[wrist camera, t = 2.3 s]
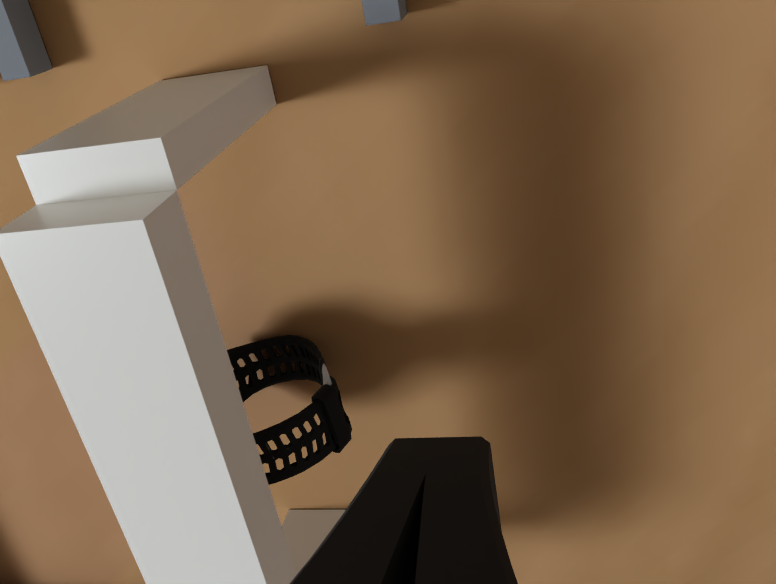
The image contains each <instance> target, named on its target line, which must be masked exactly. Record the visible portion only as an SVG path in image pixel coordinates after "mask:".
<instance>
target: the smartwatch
mask: <svg viewBox="0 0 776 584" xmlns="http://www.w3.org/2000/svg"><path fill="white" fill-rule="evenodd" d="M283 345H286V346H288V348H289V350H290V352H291V354H288V353H287V351H286V349H285V347H284V346H283ZM294 345H295V346H296V348H295V346H294ZM273 346H276V347H277V348H278V350H279V352H280V353H281V356H277V355H276V353H275V351H274V349H273V348H272V347H273ZM264 349H265V350H266V351H267V353H268V355H269V357H270V358H269V359H265V358H264V356H263V354H262V353H261V351H262V350H264ZM296 349H297V350H296ZM297 351H298V352H297ZM227 353H228V356H229V359H230V362H231V365H232V367H233V368H234V370H233V372H234V375H235V378H236V381H237V380H238V383H239V391H240V394H241V398H242V401H243V402H244V401H245V400H246V399H248V398H249V397H250V396H251V395H252V394H254V393H256V392H258V391H260V390H262V389H264V388H266V387H268V386H271V385H274V384H276V383H281V382H286V381H291V380H305V379H307V380H311V381H315V382H318V383H319V384H321V385H322V387H321V388H320V389H319V390H318V391H317V392H316V393H315V394H314V395H313V396H312V397H311V398H312V402H313V403H311V404H310V405H309V406H307V407H306V408H305V409H303V410H302V411H301V412H299V413H298V414H296V415H294V416H292V417H290V418H288V419H286V420H285V421H283V422H281V423H279V424H276V425H274V426H272V427H269V428H267V429H264V430H262V431H259V432H257V433H253V436H254V439H255V443H256V444H258V445H259V447H260V448H261V450H262V451H263V453H264V454H262V455H259V456H260V459H261V462H262V464H264V463H268V464H269V468H270V472H269V473H265V475H266V478H267V481H268V484H269V485H270V484H273V483H277V482H279V481H282V480H285V479H287V478H290V477H293V476H295V475H297V474H299V473H301V472H303V471H305V470H307V469H308V468H310V467H312V466H313V465H315V464H317V463H318V462H320V461H321V460H323V459H324V458H325V457H326V456H327V455H328V454H330V453H331V452H332V451H333V452H335V453H340V452H341V451H342V449H343V448H344V447H345V446H346V445H347V443H348V442H349V441H350V440H351V431H352V428H351V424H350V421H349V418H348V416H347V415H346V413H345V411H344V408H343V405H342V401H341V396H340V391H339V389H338V386H337V383H336V381H335V379H334V378H333V377H331V376H329V373H328V370H327V368H326V365H325V362H324V359H323V357H322V355H321V353H320V351H319V349H318V348H317V346H316V345H315V344H314V343H313V342H311V341H309V340H308V339H306V338H304V337H300V336H294V335H286V336H278V337H273V338H269V339H264V340H260V341H257V342H253V343H250V344H246V345H243V346H239V347H236V348H232V349H229V350H227ZM250 353H254V354H255V356H256V357H257V359H258V361H256V362H252V360H251V359H250V357H249V354H250ZM240 358H241V359H243V360H244V362H245V364H246V365H245V366H244V367H240V366H239V364H238V363H237V360H239V359H240ZM292 361H293V362H294V363H295V367H296V371H293V370H292V366H291V362H292ZM280 363H284V364H285V367H286V373H282V372H281V367H280ZM301 363H303V367H304V370H303V369H302V366H301ZM271 365H273V367H274V370H275V375H274V376H270V374H269V370H268V367H269V366H271ZM259 369H261V370H262V372H263V377H264V378H263V379H261V380H260V379H258V377H257V373H256V372H257V371H258V370H259ZM248 375H249V382H248V384H246V380H245V377H246V376H248ZM316 413H317V415H318V417H319V419H320V425H317V423H316V421H315V419H314V418H313V417H314V416H315V414H316ZM305 421H308V422H309V424H310V426H311V427H312V429H311V431H310V432H308V433H307V431H306V429H305V428H304V426H303V424H304V422H305ZM295 427H298V428H299V430H300V432H301V433H302V436H301V437H300V438H298V439H296V438H295V436H294V434H293V433H292V429H294V428H295ZM323 433H325V438H326V444H325V445H324V443H323V438H322V435H323ZM281 434H286V436H287V437H288V439H289V440H290V443H289V444H288V445H284V444H283V443H282V441H281V439H280V437H279V436H280V435H281ZM315 439H316V444H317V451H316V452H315V453H314V452H313V444H312V441H313V440H315ZM270 440H273V441H274V443H275V444H276V446H277V449H276V450H271V448H270V446H269V445H268V443H267V442H268V441H270ZM304 446H306V448H307V453H308V455H307V457H306V458H303V457H302V452H301V449H302V447H304ZM293 452H294V453H295V457H296V462H294V463H292V464H290V462H289V457H288V456H289V455H290V454H292V453H293ZM278 458H281V459H283V464H284V468H283V469H281V470H278V469H277V467H276V463H275V460H277V459H278Z"/></svg>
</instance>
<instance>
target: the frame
mask: <svg viewBox="0 0 776 584" xmlns="http://www.w3.org/2000/svg"><path fill="white" fill-rule="evenodd" d="M362 4H363V10H364V16H365V22H366V26H368V25H374V24H381V23H387V22H394V21H400V20H402V19H403V18H404V16H405V15H406V14H407V10H406V3H405V0H362ZM50 69H52V65H51V63H50V60H49V57H48V54H47V52H46V49H45V46H44V43H43V41H42V38H41V35H40V32H39V30H38V27H37V24H36V21H35V19H34V16H33V13H32V10H31V8H30V5H29V2H28V0H0V73H1V76H2V79H3V81H6V80H13V79H20V78H26V77H31V76H34V75H37V74H39V73H42V72H45V71H47V70H50Z"/></svg>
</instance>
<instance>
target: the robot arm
mask: <svg viewBox="0 0 776 584" xmlns="http://www.w3.org/2000/svg"><path fill="white" fill-rule="evenodd" d="M290 584H518V583H517V580H516V577H515V574H514V571H513V568H512V565H511V562H510V559H509V555H508V552H507V549H506V545H505V542H504V539H503V535H502V532H501V524H500V516H499V508H498V500H497V493H496V485H495V477H494V469H493V462H492V454H491V446H490V443H489V442H488V441H486V440H485V439H484V438H482V437H442V438H398V439H394V440H393V441H392V442H391V443H390V444H389V446H388V447H387V449H386V450H385V452H384V453H383V455H382V457H381V458H380V460H379V461H378V463H377V464H376V466H375V467H374V469H373V471H372V472H371V474H370V475H369V477H368V478H367V480H366V481H365V483H364V484H363V486H362V487H361V489H360V490H359V492H358V493H357V494H356V496H355V497H354V499H353V500H352V502H351V503H350V505H349V506H348V508H347V509H346V510H345V512H344V513H343V515H342V516H341V517H340V519H339V520H338V521H337V523H336V524H335V525H334V527H333V528H332V530H331V531H330V532H329V534H328V535H327V536H326V538H325V539H324V541H323V542H322V543H321V545H320V546H319V547H318V549H317V550H316V551H315V553H314V554H313V555H312V556H311V558H310V559H309V560H308V562H307V563H306V564H305V565H304V566H303V568H302V569H301V570H300V571H299V573H298V574H297V575H296V576H295V577H294V579H293V580H292V581H291V582H290Z"/></svg>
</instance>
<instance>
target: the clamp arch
mask: <svg viewBox="0 0 776 584" xmlns="http://www.w3.org/2000/svg"><path fill="white" fill-rule="evenodd" d="M274 106H276V100H275V96H274V92H273V88H272V83H271V79H270V75H269V70H268V66H267V65H265V66H258V67H251V68H244V69H237V70H231V71H224V72H217V73H210V74H203V75H196V76H189V77H182V78H175V79H168V80H161V81H158V82H156V83H154V84H152V85H150V86H148V87H147V88H145V89H143V90H141V91H139V92H137V93H135V94H133V95H131V96H129V97H127V98H126V99H124V100H122V101H120V102H118V103H116V104H114V105H112V106H110V107H108V108H106V109H105V110H103V111H101V112H99V113H97V114H95V115H93V116H91V117H89V118H87V119H85V120H84V121H82V122H80V123H78V124H76V125H74V126H72V127H70V128H68V129H66V130H64V131H62V132H61V133H59V134H57V135H55V136H53V137H51V138H49V139H47V140H45V141H43V142H41V143H40V144H38V145H36V146H34V147H32V148H30V149H28V150H26V151H24V152H22V153H20V154H19V155H17V159H18V161H19V164H20V166H21V169H22V171H23V174H24V176H25V179H26V181H27V183H28V186H29V188H30V191H31V193H32V196H33V198H34V201H35V203H36V206H34V207H33V208H31V209H30V210H28V211H27V212H25V213H24V214H22V215H20V216H19V217H17V218H16V219H14V220H13V221H11V222H10V223H8V224H7V225H5V226H3V227H2V228H0V257H1V259H2V261H3V263H4V266H5V268H6V270H7V272H8V275H9V277H10V279H11V281H12V284H13V286H14V288H15V290H16V293H17V295H18V297H19V299H20V301H21V304H22V306H23V308H24V310H25V313H26V315H27V317H28V319H29V322H30V324H31V326H32V328H33V331H34V333H35V335H36V337H37V340H38V342H39V344H40V346H41V349H42V351H43V353H44V355H45V358H46V360H47V362H48V364H49V367H50V369H51V371H52V373H53V376H54V378H55V380H56V382H57V385H58V387H59V389H60V391H61V394H62V396H63V398H64V400H65V403H66V405H67V407H68V409H69V412H70V414H71V416H72V418H73V421H74V423H75V425H76V427H77V430H78V432H79V434H80V436H81V439H82V441H83V443H84V445H85V448H86V450H87V452H88V454H89V457H90V459H91V461H92V463H93V466H94V468H95V470H96V472H97V475H98V477H99V479H100V481H101V484H102V486H103V488H104V490H105V493H106V495H107V497H108V499H109V502H110V504H111V506H112V508H113V511H114V513H115V515H116V517H117V520H118V522H119V524H120V526H121V529H122V531H123V533H124V535H125V538H126V540H127V542H128V544H129V547H130V549H131V551H132V553H133V556H134V558H135V560H136V562H137V564H138V567H139V569H140V571H141V573H142V576H143V578H144V580H145V582H146V584H290V582H291V581H292V580H293V579H294V577H295V576H296V575H297V574H298V573H299V571H300V570H301V569H302V568H303V566H304V565H305V564H306V563H307V562H308V560H309V559H310V558H311V556H312V555H313V554H314V553H315V551H316V550H317V549H318V547H319V546H320V545H321V543H322V542H323V541H324V539H325V538H326V536H327V535H328V534H329V532H330V531H331V530H332V528H333V527H334V525H335V524H336V523H337V521H338V520H339V519H340V517H341V516H342V515H343V513H344V512H345V510H288V512H287V515H286V518H285V520H284V523H283V525H282V526H281V523H280V520H279V517H278V513H277V510H276V507H275V504H274V501H273V497H272V494H271V491H270V488H269V484H268V481H267V478H266V475H265V472H264V468H263V465H262V462H261V459H260V456H259V452H258V449H257V446H256V443H255V439H254V436H253V433H252V430H251V427H250V423H249V420H248V417H247V414H246V411H245V407H244V404H243V401H242V398H241V394H240V391H239V388H238V385H237V382H236V378H235V375H234V372H233V369H232V366H231V362H230V359H229V356H228V353H227V349H226V346H225V343H224V340H223V337H222V333H221V330H220V327H219V324H218V320H217V317H216V314H215V311H214V308H213V304H212V301H211V298H210V295H209V292H208V288H207V285H206V282H205V279H204V275H203V272H202V269H201V266H200V263H199V259H198V256H197V253H196V250H195V247H194V243H193V240H192V237H191V234H190V230H189V227H188V224H187V221H186V218H185V214H184V211H183V208H182V205H181V202H180V198H179V195H178V192H177V190H178V189H179V188H180V187H181V186H182V185H184V184H185V183H186V182H187V181H188V180H189V179H191V178H192V177H193V176H194V175H195V174H196V173H198V172H199V171H200V170H201V169H202V168H203V167H205V166H206V165H207V164H208V163H209V162H210V161H212V160H213V159H214V158H215V157H216V156H217V155H219V154H220V153H221V152H222V151H223V150H224V149H225V148H227V147H228V146H229V145H230V144H231V143H232V142H234V141H235V140H236V139H237V138H238V137H239V136H241V135H242V134H243V133H244V132H245V131H246V130H248V129H249V128H250V127H251V126H252V125H253V124H255V123H256V122H257V121H258V120H259V119H260V118H262V117H263V116H264V115H265V114H266V113H267V112H269V111H270V110H271V109H272V108H273V107H274Z"/></svg>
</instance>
